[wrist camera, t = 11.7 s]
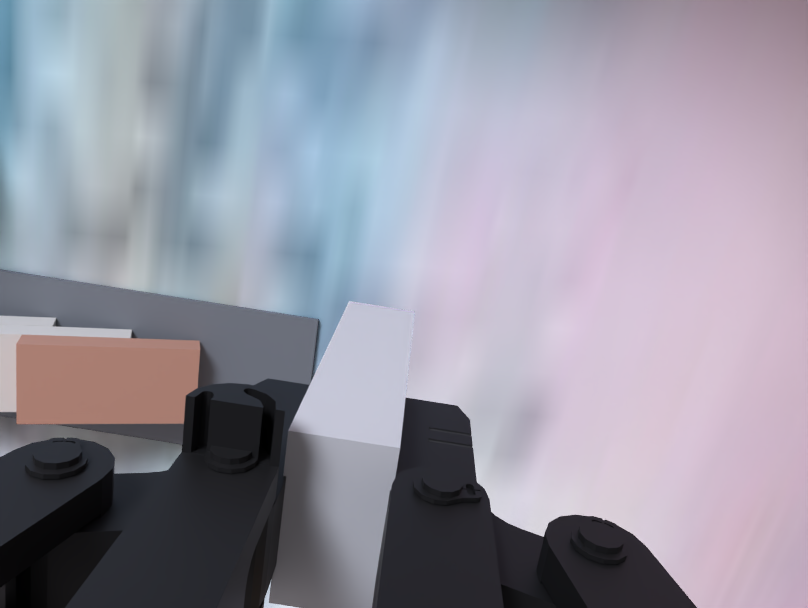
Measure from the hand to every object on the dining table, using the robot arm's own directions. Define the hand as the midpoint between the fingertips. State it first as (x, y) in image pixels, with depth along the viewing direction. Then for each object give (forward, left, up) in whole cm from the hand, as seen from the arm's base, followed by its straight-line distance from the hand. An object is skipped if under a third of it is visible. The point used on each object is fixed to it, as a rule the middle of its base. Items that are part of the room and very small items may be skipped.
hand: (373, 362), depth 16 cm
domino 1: (+1, -17, -25) cm, 31 cm away
